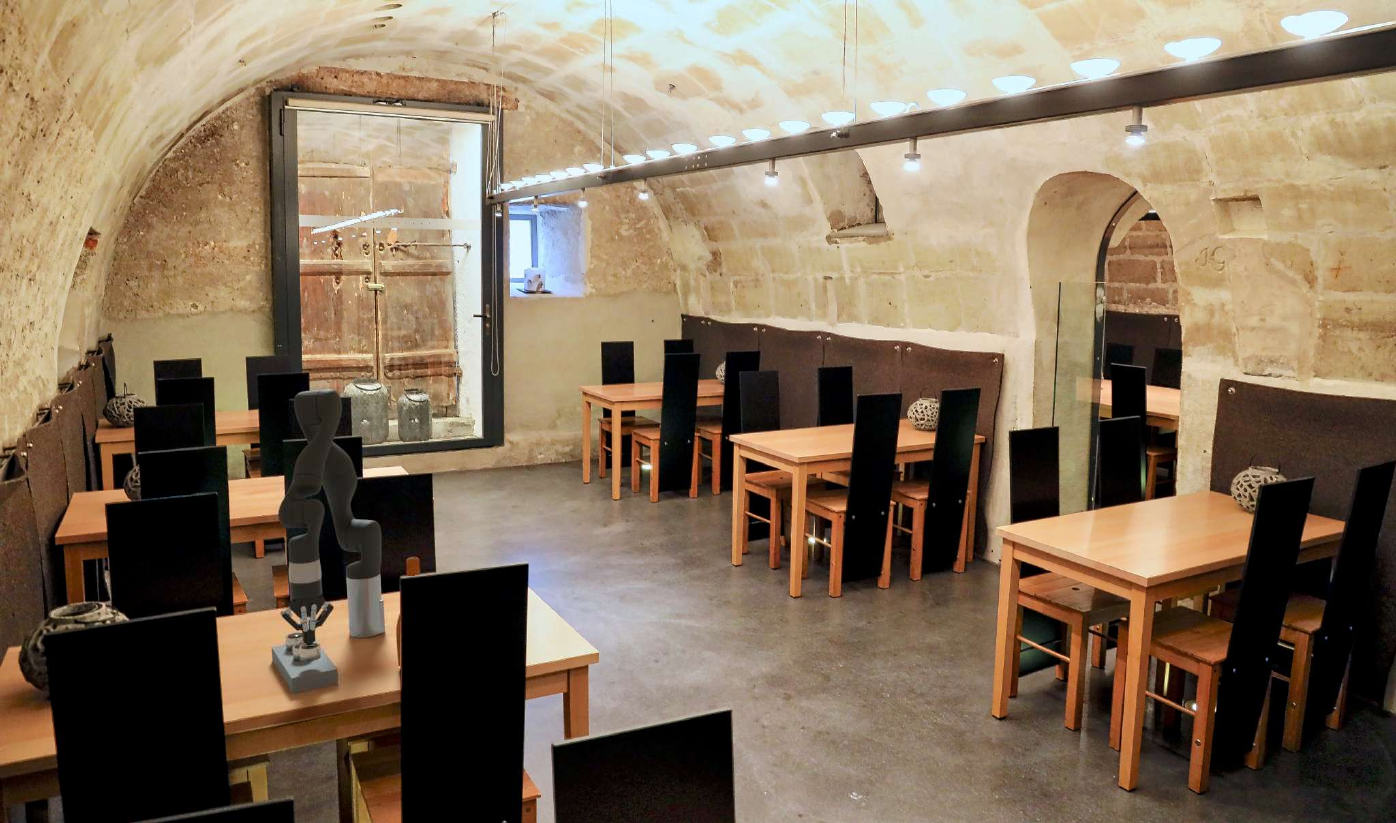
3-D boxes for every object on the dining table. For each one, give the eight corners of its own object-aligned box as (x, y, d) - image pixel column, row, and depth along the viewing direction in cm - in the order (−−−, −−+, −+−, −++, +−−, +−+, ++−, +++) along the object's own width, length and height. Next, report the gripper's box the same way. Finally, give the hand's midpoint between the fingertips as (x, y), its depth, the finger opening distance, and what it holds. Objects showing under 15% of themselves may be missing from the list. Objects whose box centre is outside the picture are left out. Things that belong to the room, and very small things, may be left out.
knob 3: (318, 652, 263) (317, 640, 262) (323, 658, 259) (322, 646, 258) (297, 656, 260) (297, 644, 260) (302, 663, 256) (301, 650, 256)
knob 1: (304, 642, 277) (303, 630, 277) (308, 647, 273) (307, 636, 273) (284, 645, 275) (283, 634, 274) (288, 651, 271) (287, 640, 270)
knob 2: (311, 651, 270) (310, 640, 270) (315, 657, 266) (315, 646, 266) (291, 655, 268) (290, 644, 267) (295, 662, 263) (294, 650, 263)
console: (315, 652, 281) (314, 638, 280) (338, 683, 260) (337, 668, 259) (272, 661, 275) (271, 647, 274) (292, 693, 254) (291, 678, 254)
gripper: (329, 569, 263) (332, 634, 266) (274, 578, 256) (278, 644, 258) (336, 576, 257) (339, 643, 259) (280, 585, 250) (284, 654, 252)
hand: (309, 644), depth 259 cm, fingers closed
